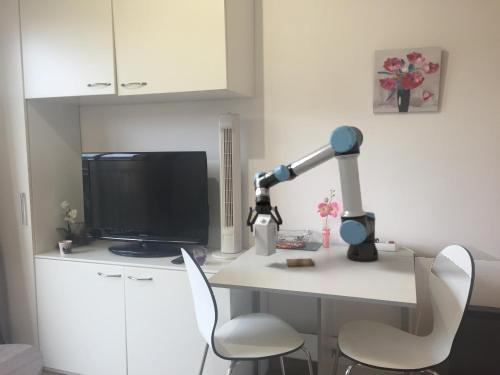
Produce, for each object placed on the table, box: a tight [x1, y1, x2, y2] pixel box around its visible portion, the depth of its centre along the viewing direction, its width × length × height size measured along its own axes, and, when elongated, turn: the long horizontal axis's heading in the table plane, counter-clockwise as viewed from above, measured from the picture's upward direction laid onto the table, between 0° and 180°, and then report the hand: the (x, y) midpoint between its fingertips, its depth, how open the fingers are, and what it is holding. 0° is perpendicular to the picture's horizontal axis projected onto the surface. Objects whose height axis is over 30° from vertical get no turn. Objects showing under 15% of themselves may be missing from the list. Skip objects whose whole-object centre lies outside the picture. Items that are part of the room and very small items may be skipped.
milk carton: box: [254, 214, 277, 257], centre depth 198 cm, size 7×7×19 cm
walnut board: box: [285, 257, 315, 268], centre depth 200 cm, size 12×10×1 cm
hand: (265, 236), depth 195 cm, fingers closed on milk carton, 10 cm apart
